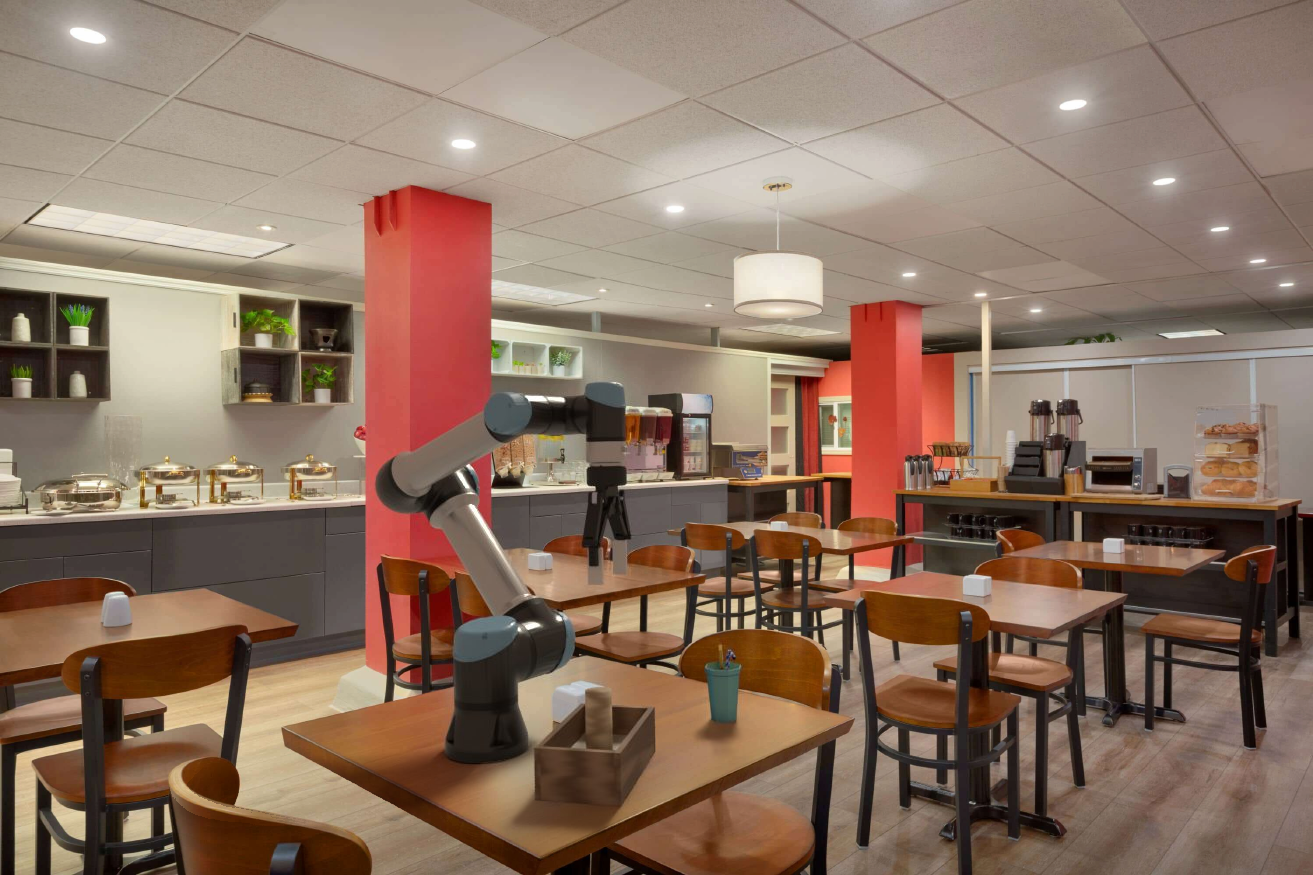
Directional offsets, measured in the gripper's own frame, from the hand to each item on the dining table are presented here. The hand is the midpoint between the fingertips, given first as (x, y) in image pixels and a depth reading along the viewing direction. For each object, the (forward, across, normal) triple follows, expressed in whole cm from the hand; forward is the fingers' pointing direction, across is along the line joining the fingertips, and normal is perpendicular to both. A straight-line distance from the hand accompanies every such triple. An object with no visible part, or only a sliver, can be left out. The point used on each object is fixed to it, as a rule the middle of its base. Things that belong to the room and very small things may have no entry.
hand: (608, 579), depth 154 cm
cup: (+31, +20, -18) cm, 41 cm away
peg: (+31, -13, -2) cm, 34 cm away
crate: (+31, -13, -2) cm, 34 cm away
